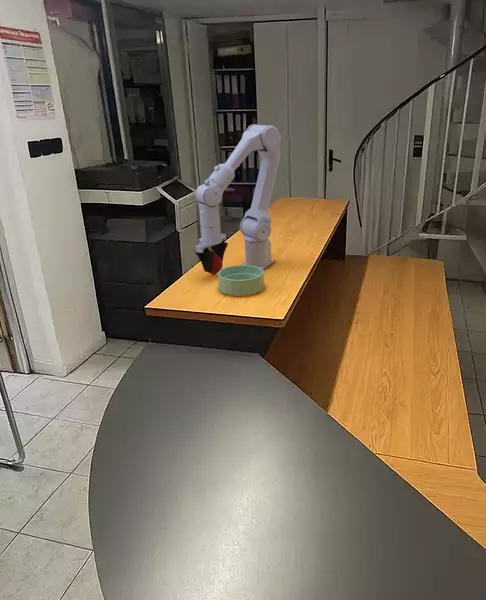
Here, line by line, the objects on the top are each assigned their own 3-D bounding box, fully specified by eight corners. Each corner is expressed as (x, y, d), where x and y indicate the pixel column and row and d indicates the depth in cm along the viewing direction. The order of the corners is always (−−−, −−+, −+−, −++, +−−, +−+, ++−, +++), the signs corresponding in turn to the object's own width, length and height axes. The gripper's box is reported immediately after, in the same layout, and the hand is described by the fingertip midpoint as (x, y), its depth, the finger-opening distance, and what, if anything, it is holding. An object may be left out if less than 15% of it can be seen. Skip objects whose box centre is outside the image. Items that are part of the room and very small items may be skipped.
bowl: (225, 279, 148) (224, 264, 147) (267, 281, 147) (267, 265, 145) (213, 295, 136) (212, 279, 134) (259, 298, 135) (258, 281, 133)
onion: (219, 278, 148) (217, 254, 145) (201, 277, 149) (199, 252, 146) (225, 272, 153) (224, 248, 150) (208, 271, 154) (206, 247, 151)
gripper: (211, 219, 153) (214, 259, 158) (185, 230, 140) (189, 274, 146) (231, 220, 150) (233, 262, 155) (206, 232, 138) (209, 277, 143)
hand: (213, 268), depth 150 cm, fingers closed on onion, 6 cm apart
